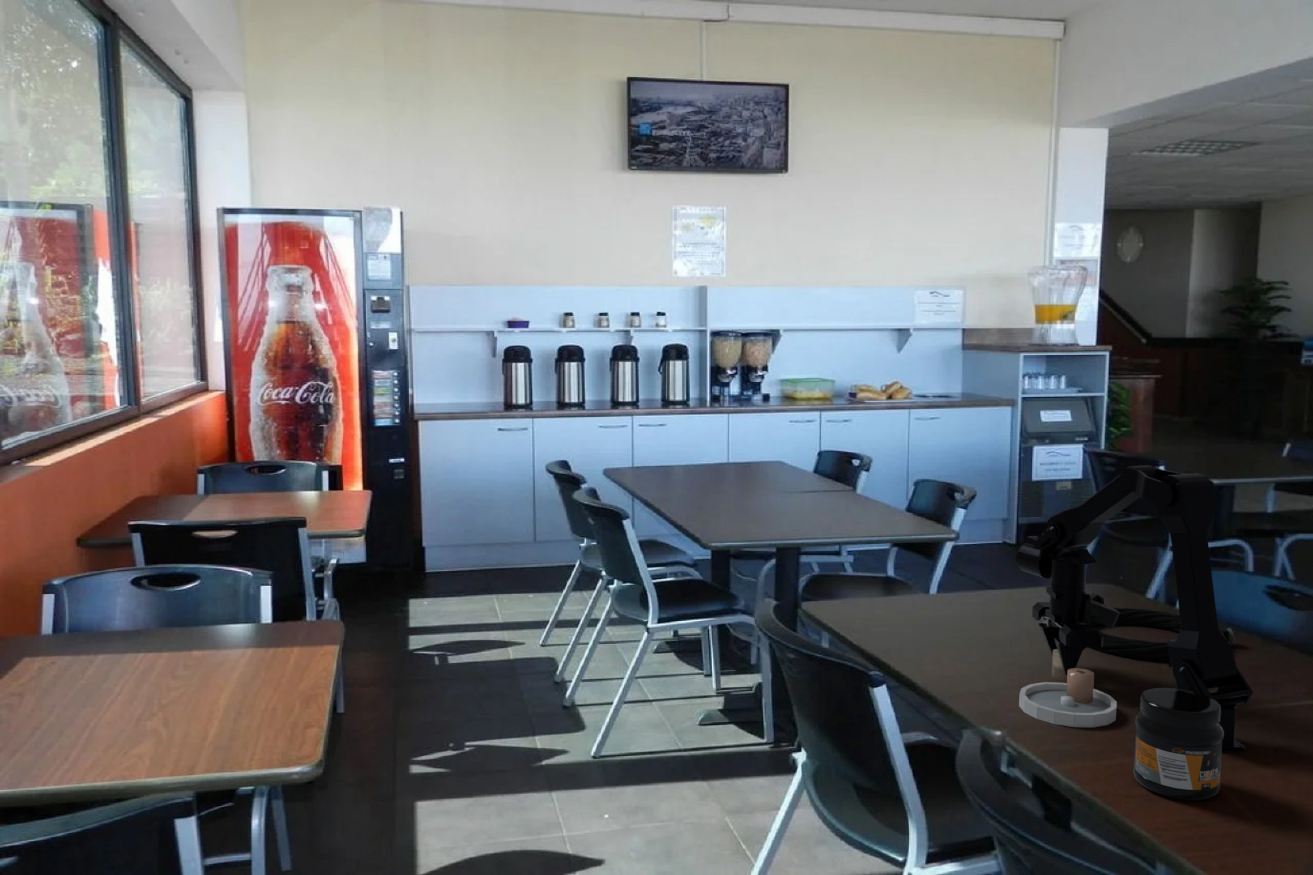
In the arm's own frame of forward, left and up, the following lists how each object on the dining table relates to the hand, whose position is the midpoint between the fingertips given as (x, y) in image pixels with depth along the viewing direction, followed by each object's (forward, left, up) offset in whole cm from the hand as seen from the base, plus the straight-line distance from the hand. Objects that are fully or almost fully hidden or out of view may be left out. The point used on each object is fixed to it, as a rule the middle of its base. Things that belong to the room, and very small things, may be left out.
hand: (1064, 671), depth 179 cm
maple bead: (0, 0, -1) cm, 1 cm away
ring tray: (-16, +5, -1) cm, 17 cm away
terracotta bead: (-14, +2, 0) cm, 14 cm away
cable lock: (+22, -24, -2) cm, 33 cm away
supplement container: (-43, 0, -1) cm, 43 cm away
